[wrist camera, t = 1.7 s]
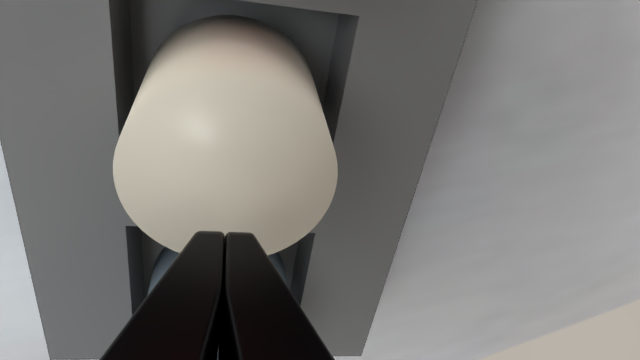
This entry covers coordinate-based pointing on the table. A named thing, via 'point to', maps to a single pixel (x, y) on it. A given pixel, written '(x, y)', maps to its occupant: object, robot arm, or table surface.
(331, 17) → the console
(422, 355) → the table surface
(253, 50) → the cream button
